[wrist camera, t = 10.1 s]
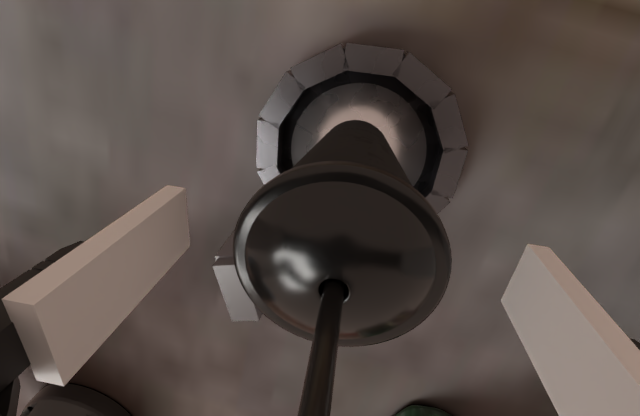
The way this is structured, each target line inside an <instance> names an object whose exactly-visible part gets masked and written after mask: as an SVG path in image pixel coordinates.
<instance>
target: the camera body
mask: <svg viewBox="0 0 640 416" xmlns="http://www.w3.org/2000/svg"><path fill="white" fill-rule="evenodd" d="M233 238H234V232H232V234H231V235H230V236H229V238H228V239H227V240H226V242H225V243H224V244H223V246H222V247H221V249H220V250H219V251H218V253H217V254H216V255H215V259H216V262H215V263H214V264H213V269H214V272H215V275H216V278H217V281H218V283H219V286H220V289H221V292H222V295H223V298H224V300H225V303H226V306H227V309H228V312H229V315H230V318H231V320H232V321H259V320H260V317H261V315H262V314H263V313H262V312H261V311H260V310H259V309H258V308H257V307H256V306H255V305H254V303H253V302H252V301H251V300H250V298H249V297H248V295H247V294H246V292H245V291H244V289H243V287H242V285H241V283H240V281H239V278H238V276H237V273H236V269H235V265H234V259H233Z"/></svg>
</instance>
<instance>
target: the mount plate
mask: <svg viewBox="0 0 640 416" xmlns="http://www.w3.org/2000/svg"><path fill="white" fill-rule="evenodd" d="M403 53H404V50H402V49H394V48H386V47H378V46H370V45H362V44H354V43H346V47H344V46H343V44H339V45H337V46H335V47H333V48H331V49H329V50H327V51H325V52H322V53H320V54H318V55H316V56H314V57H312V58H310V59H308V60H306V61H304V62H302V63H300V64H298V65H296V66H294V67H291V68H290V69H291V70H290V71H287V72H286V73H285V74H284V76H283V78H282V79H281V81H280V82H279V84H278V86H277V87H276V89H275V90H274V92H273V94H272V95H271V97H270V98H269V100H268V101H267V103H266V105H265V106H264V108H263V109H262V111H261V113H260V114H259V116H260V117H261V118H260V119H258V120H257V154H256V168H260V169H259V171H258V174H259V176H260V178H261V180H262V182H263V184H264V185H265V184H266V183H267V182H268V181H270V180H271V179H273V178H274V177H276V176H278V175H279V174H281V173H283V172H285V171H287V170H290V169H291V168H292V167H293V166H294V165H295V164H296V163H297V162H298V161H299V160H301V159H302V158H303V157H304V156H305V155H306V154H307V153H308V152H309V151H310V150H311V149H312V148H313V147H314V146H315V145H316V144H317V143H318V142H319V141H320V140H321V139H322V138H323V137H324V136H325V135H326V134H327V133H328V132H329V131H330V130H331V129H332V128H333V127H335V126H336V125H338V124H340V123H342V122H345V121H349V120H361V121H365V122H368V123H371V124H372V125H374V126H375V127H377V128H378V129H379V130H380V131H381V132H382V133H383V135H384V136H385V138H386V140H387V142H388V143H389V145H390V147H391V149H392V151H393V152H394V154H395V156H396V158H397V159H398V161H399V163H400V165H401V167H402V168H403V170H404V172H405V174H406V175H407V177H408V179H409V181H410V183H411V184H412V186H413V187H414V188H415V189H416V190H417V191H419V192H420V193H421V194H422V195H423V196H424V197H425V198H426V199H427V200H428V202H429V203H430V204H431V205H432V207H433V208H434V209H435V211H436V213H437V214H438V213H439V212H440V211H441V210H442V209H443V208H444V207H445V206H446V205H448V204H449V203H450V201H449V199H448V197H449V198H453V196H454V193H455V190H456V187H457V184H458V181H459V177H460V174H461V171H462V168H463V165H464V162H465V159H466V156H467V153H468V150H467V149H466V148H465V147H466V146H468V142H467V138H466V134H465V131H464V127H463V123H462V119H461V115H460V111H459V108H458V104H457V100H456V96H455V94H454V93H452V92H451V90H452V89H451V88H450V87H449V86H448V85H447V84H445V83H444V82H443V81H442V80H441V79H440V78H438V77H437V76H436V75H435V74H434V73H433V72H432V71H430V70H429V69H428V68H427V67H426V66H425V65H424V64H422V63H421V62H420V61H419V60H418V59H417V58H416V57H414V56H413V55H412V54H411V53H410V52H407V53H406V54H405V55H404V54H403Z"/></svg>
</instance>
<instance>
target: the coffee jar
mask: <svg viewBox="0 0 640 416" xmlns="http://www.w3.org/2000/svg"><path fill="white" fill-rule="evenodd" d="M395 416H451V415H450V414H448V413H446V412H444V411H443V410H440V409H437V408H434V407H427V406H417V405H412V406H408V407H406V408H405V409H403V410H402V411H400V412H399V413H398V414H396V415H395Z"/></svg>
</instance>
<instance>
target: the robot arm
mask: <svg viewBox="0 0 640 416" xmlns="http://www.w3.org/2000/svg"><path fill="white" fill-rule="evenodd" d="M189 247H190V235H189V223H188V211H187V198H186V188H182V187H176V186H170V185H167V186H165V187H164V188H162V189H161V190H159V191H158V192H156V193H155V194H153V195H152V196H151V197H149V198H148V199H146V200H145V201H143V202H142V203H140V204H139V205H137V206H136V207H135V208H133V209H132V210H130V211H129V212H127V213H126V214H124V215H123V216H121V217H120V218H119V219H117V220H116V221H114V222H113V223H111V224H110V225H108V226H107V227H105V228H104V229H103V230H101V231H100V232H98V233H97V234H95V235H94V236H92V237H91V238H89V239H88V240H87V241H85V242H83V241H79V242H77V243H74V244H72V245H69V246H67V247H64V248H62V249H60V250H58V251H57V252H55V253H54V254H52V255H51V256H49V257H48V258H46V259H45V261H42V262H40V263H39V264H37V265H36V266H34V267H33V268H32V270H28V271H26V272H25V273H23V274H22V275H20V276H19V277H17V278H16V279H14V280H13V281H11V282H10V283H8V284H7V285H5V286H4V287H2V288H1V289H0V416H16V412H17V406H18V399H19V392H20V381H19V378H18V376H19V375H20V374H21V373H22V372H23V371H24V370H25V369H26V368H27V367H28V366H29V365H30V367H31V369H32V371H33V374H34V376H35V378H36V380H37V381H41V382H46V383H50V384H51V385H48V386H45V387H44V388H42V389H41V390H40V391H39V392H38V393H37V394H36V395H35V396H34V397H33V399H32V400H31V401H30V402H29V403H28V404H27V405H26V407H25V408H24V410H23V412H22V414H21V415H20V416H131V415H130V414H129V413H128V412H127V411H126V410H125V409H124V408H122V407H121V406H120V405H119V404H117V403H116V402H115V401H113V400H111V399H110V398H108V397H106V396H105V395H103V394H101V393H99V392H96V391H94V390H91V389H89V388H86V387H82V386H78V385H74V384H67V383H68V382H69V380H70V379H71V378H72V377H73V376H74V375H75V374H76V373H77V372H78V370H79V369H80V368H81V367H82V366H83V365H84V364H85V363H86V362H87V360H88V359H89V358H90V357H91V356H92V355H93V354H94V353H95V352H96V350H97V349H98V348H99V347H100V346H101V345H102V344H103V343H104V342H105V340H106V339H107V338H108V337H109V336H110V335H111V334H112V333H113V332H114V330H115V329H116V328H117V327H118V326H119V325H120V324H121V323H122V322H123V320H124V319H125V318H126V317H127V316H128V315H129V314H130V313H131V311H132V310H133V309H134V308H135V307H136V306H137V305H138V304H139V303H140V301H141V300H142V299H143V298H144V297H145V296H146V295H147V294H148V293H149V291H150V290H151V289H152V288H153V287H154V286H155V285H156V284H157V283H158V281H159V280H160V279H161V278H162V277H163V276H164V275H165V274H166V273H167V271H168V270H169V269H170V268H171V267H172V266H173V265H174V264H175V263H176V261H177V260H178V259H179V258H180V257H181V256H182V255H183V254H184V253H185V251H186V250H187V249H188V248H189ZM501 302H502V304H503V306H504V308H505V310H506V312H507V314H508V316H509V318H510V320H511V322H512V324H513V326H514V328H515V330H516V332H517V334H518V336H519V338H520V340H521V342H522V344H523V346H524V348H525V350H526V352H527V354H528V356H529V358H530V360H531V362H532V364H533V366H534V368H535V370H536V372H537V374H538V376H539V378H540V380H541V382H542V384H543V386H544V388H545V390H546V392H547V394H548V395H549V397H550V399H551V401H552V403H553V405H554V407H555V409H556V411H557V413H558V415H559V416H640V343H639V342H637V341H636V340H635V339H629V338H628V336H627V335H626V334H625V333H624V332H623V331H622V330H621V329H620V327H619V326H618V325H617V324H616V323H615V322H614V321H613V319H612V318H611V317H610V316H609V315H608V314H607V313H606V311H605V310H604V309H603V308H602V307H601V306H600V305H599V303H598V302H597V301H596V300H595V299H594V298H593V297H592V295H591V294H590V293H589V292H588V291H587V290H586V289H585V288H584V286H583V285H582V284H581V283H580V282H579V281H578V280H577V278H576V277H575V276H574V275H573V274H572V273H571V272H570V270H569V269H568V268H567V267H566V266H565V265H564V264H563V262H562V261H561V260H560V259H559V258H558V257H557V256H556V254H555V253H554V252H553V251H552V250H551V249H550V248H549V247H544V246H538V245H532V244H527V246H526V248H525V250H524V252H523V254H522V257H521V259H520V261H519V263H518V265H517V267H516V269H515V271H514V273H513V276H512V278H511V280H510V282H509V284H508V286H507V288H506V290H505V293H504V295H503V297H502V299H501Z"/></svg>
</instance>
